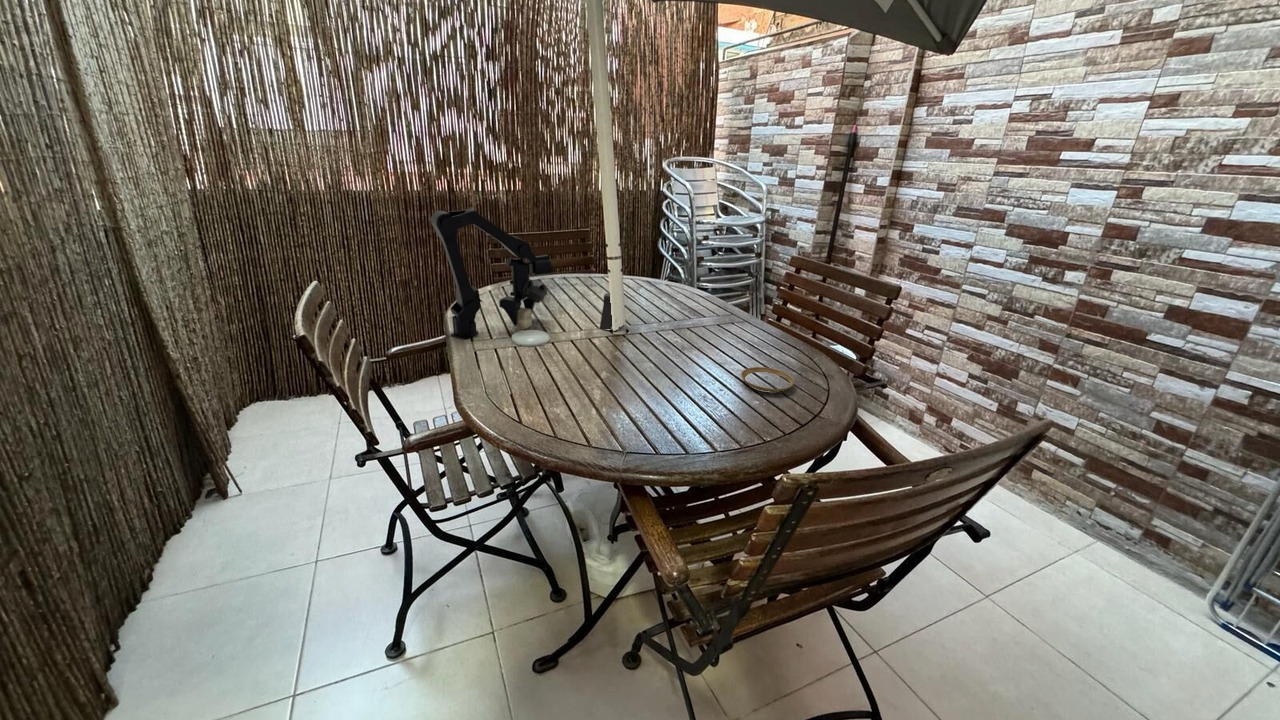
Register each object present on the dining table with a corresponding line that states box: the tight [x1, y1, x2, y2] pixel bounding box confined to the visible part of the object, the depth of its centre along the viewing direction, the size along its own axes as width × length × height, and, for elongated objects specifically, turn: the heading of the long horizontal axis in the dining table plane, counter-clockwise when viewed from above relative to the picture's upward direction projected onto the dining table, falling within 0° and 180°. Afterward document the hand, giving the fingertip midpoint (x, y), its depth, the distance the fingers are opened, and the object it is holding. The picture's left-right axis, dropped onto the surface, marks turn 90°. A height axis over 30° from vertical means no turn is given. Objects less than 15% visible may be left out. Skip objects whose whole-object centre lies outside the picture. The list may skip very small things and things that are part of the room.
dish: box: [511, 329, 550, 347], centre depth 167 cm, size 12×12×1 cm
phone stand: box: [599, 293, 612, 330], centre depth 181 cm, size 9×6×12 cm, turn 161°
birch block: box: [513, 306, 533, 330], centre depth 178 cm, size 4×4×6 cm
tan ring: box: [740, 366, 795, 392], centre depth 146 cm, size 15×15×3 cm
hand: (522, 321), depth 178 cm, fingers open, 9 cm apart
